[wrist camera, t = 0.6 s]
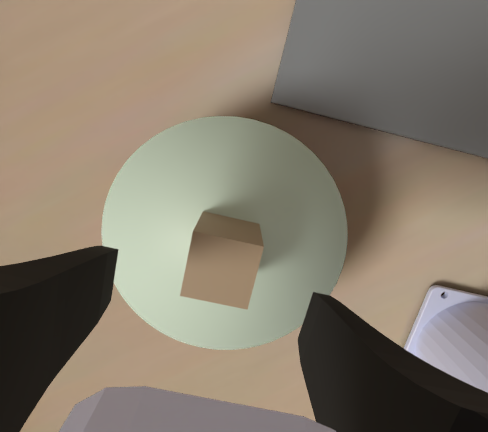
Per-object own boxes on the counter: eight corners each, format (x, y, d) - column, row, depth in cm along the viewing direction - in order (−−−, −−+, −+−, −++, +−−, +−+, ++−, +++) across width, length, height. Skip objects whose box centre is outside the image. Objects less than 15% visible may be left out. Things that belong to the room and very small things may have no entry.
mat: (623, -91, 17) (632, -96, 17) (510, 164, 20) (515, 164, 20) (341, -182, 16) (343, -190, 16) (270, 102, 19) (271, 101, 19)
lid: (375, 149, 16) (420, 155, 12) (306, 359, 20) (323, 420, 15) (125, 88, 16) (82, 72, 11) (94, 317, 19) (53, 370, 15)
